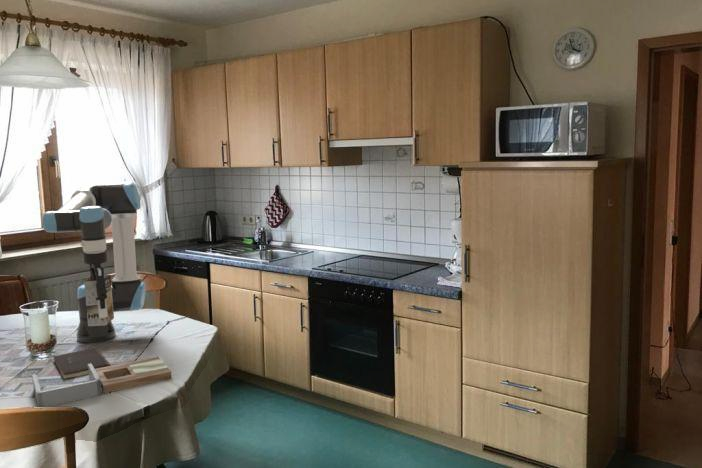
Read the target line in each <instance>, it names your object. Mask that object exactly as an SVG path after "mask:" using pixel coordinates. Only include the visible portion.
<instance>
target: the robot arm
mask: <svg viewBox="0 0 702 468" xmlns="http://www.w3.org/2000/svg"><path fill="white" fill-rule="evenodd" d="M140 197H141V196H140V191H139V189H138V187H137V185H136V184H135V183H134V182H132V181H116V182H113V181H112V182H110V181H109V182H95V183H91V184H88V185H86V186H83V187H81V188H79V189H77V190H76V191H74V193H72V195H71V196H70V199H69V200H68V201H67V202H66V203H65V204H63V205H62V206H61V207H60V208H59V209H57V210H51V211H45V212H44V213H43V215H42V219H41V220H42V221H41V222H42V226H43V230H44V231H45V232H46V233H55V234H57V233H70V232H71V233H73V232H80V233H81V235H80V236H81V241H82V242H81V243H80V247H82V252H84V253H83V254H82V255H83V256H82V257H83V263H84V264H85V265H89V272H90V274H89V276H90V277H93V280H96V281H97V283H96V290H97V296H98V298H96V300H97V302H98V312H99V318H105V317H108V314H107V303H106V298H107V294H106V287H105V280H104V275H105V270H104V267H102V264H105V263H107V262H108V252H107V251H106V250H107V238H106V230H107V229H108V227H110V226H111V229H112V230H111V231H112V247H113V263H114V265H113V266H114V277H113V278H111V287H112V298H113V310H114V313H117V312H129V311H130V312H132V311H140V310H141V309H142V308H143V307H144V304H145V301H146V291H147V290H146V283H145V282H143V281H142V278H141V277H140V276H139V275H138V271H137V257H136V240H135V239H136V237H135V224H134V222H135V220H134V217H135V216H136V215H137V214H138V211H137V210H140V209H141V207H142V205H141V199H140ZM76 291H77V292H76V293H77V294H76V295H77V296H76V297H77V298H76V299H77V308H78V316H79V322H78V327H77V330H76V331H77V332H76V341H78V342H80V343H97V342H103V341H106V340H110V339H112V338H114V337H115V336H116V328H115V326H114V324H113V322H112V320H111V321H110V322H109V323H108V324H107V325H105V326H88V319H87V308H86V297H85V286H84V284H82V285H80V286H79V287H78V288H77V290H76Z"/></svg>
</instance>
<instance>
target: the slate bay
mask: <svg viewBox="0 0 702 468" xmlns="http://www.w3.org/2000/svg"><path fill="white" fill-rule="evenodd" d="M88 373H89V374H88V379H89V381H85V382H79V383H74V384H69V385H64V386H60V387H55V388H51V389H46V390H45V389H44V390H41V388H40V387H41V386H40V383H39V379H38V376H37V373H35V374H32V375H31V378H32V386H33V391H34V392H33V393H34V396H35V400H36V403H37V408H38V407H45V408H48V407H53V406H59V405H62V404H67V403H72V402H75V401H76V402H77V401H81V400H85V399H88V398H89V399H90V398H94V397H98V396H102V395H103V390H102V388H101V380H100V378H99V376H98V374H97V373H96V371H95V369H94V367H93V365H92V364H91V363H90V364H88Z"/></svg>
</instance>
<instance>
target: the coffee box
mask: <svg viewBox="0 0 702 468" xmlns="http://www.w3.org/2000/svg"><path fill="white" fill-rule="evenodd" d="M104 280H105V287H106V294H107V298H106V303H107V314H108V317H105V318H99V312H98V302H97V300H96V298H98V296H97V290H96V283H97V281H96V280H93V277H91V276H90V277H88V278H86V279H85V280H83V285H84V286H85V297H86V308H87V319H88V326H105V325H107V324H108V323H109V322H110V321H111V322H112V321H113V320H114V319H115V314H114V313H115V312H114V310H113V298H112V287H111V284H112V278H111V274H104Z"/></svg>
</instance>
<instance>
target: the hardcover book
mask: <svg viewBox="0 0 702 468" xmlns="http://www.w3.org/2000/svg"><path fill="white" fill-rule="evenodd" d="M52 358H53V360H54V362H55V364H56V366H57V367H58V370H59V371H60V373H61V375H62V377H63V379H64V380H65V379H70V378H74V377H78V376H84V375H85V376H86V375H89V373H88V364H90V363H91V364H92V365H93V367H94V369H97V368H102V367H107V366H112V365H111V364H110V362H108V360H107V359H106V358H105V356H104V355H103V354H102V352H101V351H100V350H99V349H98V347H92V348H88V349H84V350H77V351H72V352H67V353H61V354H57V355H53V356H52Z"/></svg>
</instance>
